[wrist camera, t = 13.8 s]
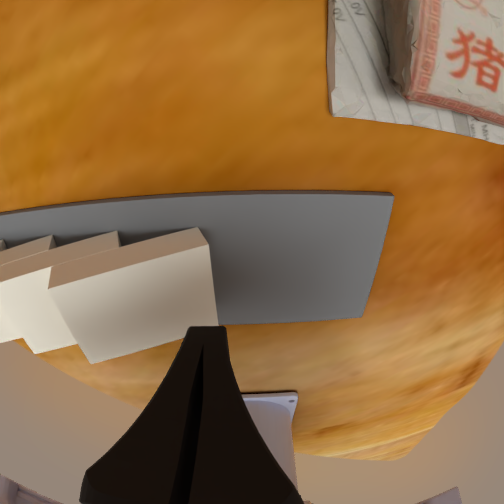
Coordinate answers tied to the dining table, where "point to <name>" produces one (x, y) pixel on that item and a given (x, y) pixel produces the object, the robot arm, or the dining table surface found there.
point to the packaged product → (419, 63)
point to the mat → (245, 244)
